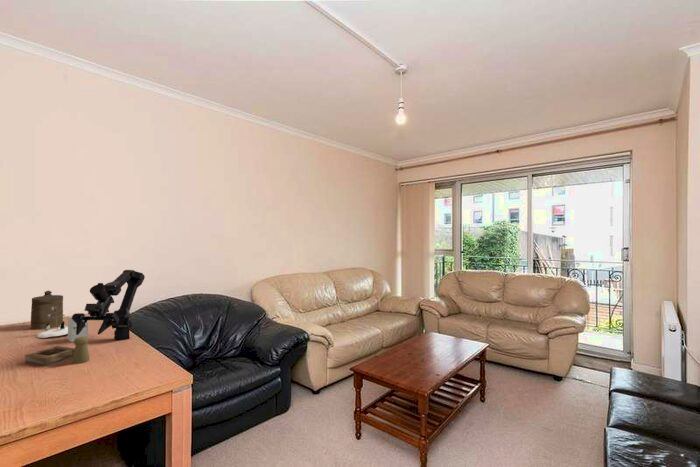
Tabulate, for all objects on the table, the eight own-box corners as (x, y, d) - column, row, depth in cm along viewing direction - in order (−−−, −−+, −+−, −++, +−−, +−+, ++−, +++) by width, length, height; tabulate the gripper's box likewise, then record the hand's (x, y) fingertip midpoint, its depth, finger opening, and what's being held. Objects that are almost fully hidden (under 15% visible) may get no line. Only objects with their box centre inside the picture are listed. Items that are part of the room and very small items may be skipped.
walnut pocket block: (57, 353, 161) (57, 346, 161) (77, 356, 158) (77, 348, 158) (24, 363, 149) (25, 355, 149) (46, 366, 145) (46, 358, 145)
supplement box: (71, 342, 177) (71, 318, 178) (67, 339, 182) (67, 316, 182) (88, 339, 183) (88, 316, 183) (84, 336, 188) (84, 314, 188)
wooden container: (59, 321, 219) (60, 288, 219) (65, 325, 209) (65, 290, 210) (28, 326, 207) (29, 290, 207) (32, 330, 198) (33, 293, 198)
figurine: (87, 329, 199) (85, 302, 199) (53, 339, 181) (51, 309, 181) (63, 330, 204) (61, 303, 204) (27, 339, 186) (25, 310, 187)
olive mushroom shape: (79, 364, 148) (80, 339, 148) (68, 363, 149) (69, 338, 149) (92, 359, 154) (93, 335, 154) (82, 358, 155) (82, 334, 155)
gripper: (74, 296, 160) (56, 325, 149) (116, 296, 162) (102, 324, 151) (85, 309, 168) (68, 338, 157) (125, 309, 170) (111, 337, 159)
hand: (87, 334), depth 156 cm, fingers open, 9 cm apart
